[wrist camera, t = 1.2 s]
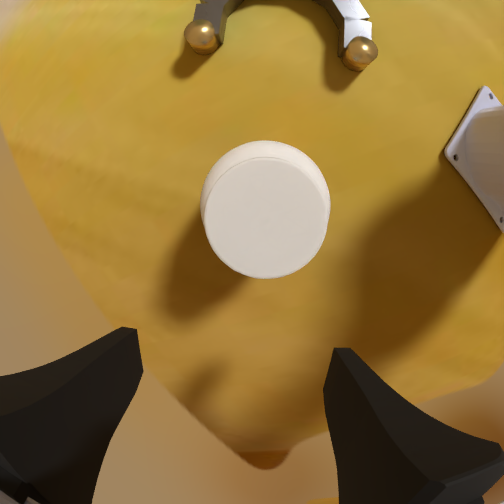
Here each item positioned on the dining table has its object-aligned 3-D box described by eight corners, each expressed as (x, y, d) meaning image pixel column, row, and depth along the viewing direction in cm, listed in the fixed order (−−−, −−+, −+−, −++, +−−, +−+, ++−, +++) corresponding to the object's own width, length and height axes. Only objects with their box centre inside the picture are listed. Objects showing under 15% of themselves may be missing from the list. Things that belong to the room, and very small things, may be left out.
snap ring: (366, 74, 16) (377, 64, 14) (191, 55, 16) (182, 43, 14) (366, -10, 14) (374, -24, 11) (207, -27, 14) (201, -42, 12)
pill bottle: (207, 203, 19) (150, 243, 10) (251, 132, 18) (232, 100, 8) (279, 247, 20) (287, 324, 10) (325, 178, 18) (379, 195, 9)
